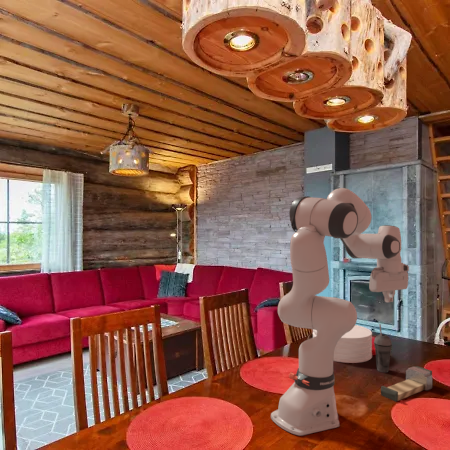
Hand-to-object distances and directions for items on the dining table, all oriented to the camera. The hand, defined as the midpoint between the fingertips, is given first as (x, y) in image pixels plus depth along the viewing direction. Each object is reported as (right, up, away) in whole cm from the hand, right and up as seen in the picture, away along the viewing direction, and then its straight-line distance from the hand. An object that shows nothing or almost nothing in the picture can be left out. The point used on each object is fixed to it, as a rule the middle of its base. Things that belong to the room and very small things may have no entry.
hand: (388, 302), depth 142 cm
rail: (+5, -33, -4) cm, 33 cm away
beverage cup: (+4, -33, +15) cm, 37 cm away
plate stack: (-6, -34, +38) cm, 51 cm away
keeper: (+12, -33, 0) cm, 35 cm away
